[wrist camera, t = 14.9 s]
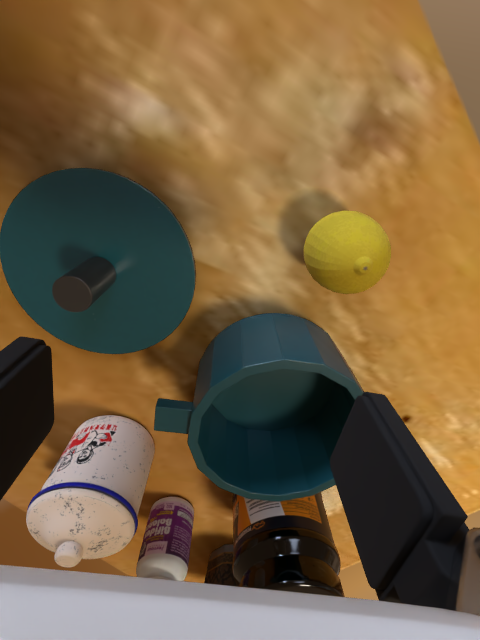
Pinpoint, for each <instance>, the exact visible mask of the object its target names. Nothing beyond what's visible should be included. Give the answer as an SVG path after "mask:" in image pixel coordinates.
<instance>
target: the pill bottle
mask: <svg viewBox="0 0 480 640" xmlns="http://www.w3.org/2000/svg"><path fill="white" fill-rule="evenodd" d="M193 519H194V509H193V507H192V505H191V504H190V503H189V502H188V501H186V500H184V499H182V498H179V497H166V498H162V499H159V500H158V501H156V502H155V503H154V504H153V506H152V508H151V510H150V514H149V518H148V522H147V526H146V530H145V534H144V538H143V542H142V546H141V550H140V555H139V559H138V562H137V568H136V574H137V577H142V578H152V579H163V580H174V581H184V579H185V577H186V575H187V571H188V562H189V554H190V546H191V537H192V529H193Z"/></svg>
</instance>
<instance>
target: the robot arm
mask: <svg viewBox="0 0 480 640" xmlns="http://www.w3.org/2000/svg"><path fill="white" fill-rule="evenodd" d="M53 423H54V400H53V378H52V355H51V348H50V347H49V346H46V344H45V342H44V341H43V340H40V339H34V338H27V337H19V338H17V339H16V340H15V341H13V342H12V343H11V344H9V345H8V346H7V347H6V348H4V349H3V350H2V351H0V500H1V499H2V498H3V496H4V495H5V493H6V492H7V491H8V489H9V488H10V486H11V485H12V484H13V482H14V481H15V479H16V478H17V477H18V475H19V474H20V472H21V471H22V470H23V468H24V467H25V465H26V464H27V463H28V461H29V460H30V458H31V457H32V456H33V454H34V453H35V451H36V450H37V449H38V447H39V446H40V444H41V443H42V442H43V440H44V439H45V437H46V436H47V435H48V433H49V432H50V430H51V428H52V426H53ZM330 467H331V471H332V474H333V477H334V480H335V483H336V486H337V489H338V492H339V495H340V498H341V501H342V504H343V507H344V510H345V513H346V516H347V520H348V523H349V526H350V529H351V532H352V535H353V538H354V541H355V544H356V547H357V550H358V553H359V556H360V559H361V562H362V565H363V568H364V571H365V574H366V577H367V580H368V583H369V585H370V586H371V587H372V588H373V589H375V590H376V593H377V596H378V599H379V601H376V600H367V599H357V598H347V597H338V596H328V595H318V594H308V593H298V592H288V591H278V590H268V589H258V588H247V587H237V586H227V585H216V584H206V583H195V582H185V581H174V580H163V579H152V578H142V577H131V576H120V575H109V574H98V573H86V572H75V571H64V570H52V569H41V568H29V567H18V566H7V565H0V640H480V528H473V529H471V530H469V529H468V527H467V526H466V524H465V523H464V521H465V520H466V519H467V517H468V516H467V515H466V514H465V512H464V511H463V509H462V508H461V506H460V505H459V503H458V502H457V500H456V499H455V497H454V496H453V494H452V493H451V491H450V490H449V489H448V487H447V486H446V484H445V483H444V481H443V480H442V478H441V477H440V475H439V474H438V472H437V471H436V469H435V468H434V467H433V465H432V464H431V462H430V461H429V459H428V458H427V456H426V455H425V453H424V452H423V450H422V449H421V447H420V446H419V444H418V443H417V442H416V440H415V439H414V437H413V436H412V434H411V433H410V431H409V430H408V428H407V427H406V425H405V424H404V422H403V421H402V419H401V418H400V417H399V415H398V414H397V412H396V411H395V409H394V408H393V406H392V405H391V403H390V402H389V400H388V399H387V397H386V396H385V395H382V394H376V393H370V392H364V393H363V394H362V396H358V397H357V398H356V400H355V402H354V404H353V407H352V409H351V411H350V414H349V416H348V418H347V421H346V423H345V425H344V427H343V430H342V432H341V434H340V437H339V439H338V441H337V444H336V446H335V448H334V451H333V453H332V455H331V459H330Z"/></svg>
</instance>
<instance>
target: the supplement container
mask: <svg viewBox="0 0 480 640" xmlns="http://www.w3.org/2000/svg"><path fill="white" fill-rule="evenodd" d="M232 504H233V562H232V572H233V577H234V580H235V582H236V584H237V585H238V586H239V587H247V588H258V589H268V590H278V591H288V592H298V593H308V594H318V595H328V596H338V597H344V593H343V589H342V586H341V582H340V579H339V577H338V575H339V572H340V557H339V553H338V551H337V549H336V547H335V544H334V541H333V537H332V533H331V530H330V526H329V522H328V519H327V515H326V511H325V508H324V504H323V501H322V495H321V492H319V493H317V494H315V495H313V496H309V497H303V498H297V499H291V500H286V501H279V502H278V501H267V500H255V499H248V498H244V497H242V496H239V495H237V494H233V501H232Z"/></svg>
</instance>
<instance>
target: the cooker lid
mask: <svg viewBox="0 0 480 640" xmlns="http://www.w3.org/2000/svg"><path fill="white" fill-rule="evenodd" d="M0 259H1V263H2V268H3V272H4V274H5V277H6V280H7V283H8V285H9V287H10V289H11V291H12V293H13V294H14V296H15V298H16V299H17V301H18V302H19V304H20V305H21V306H22V308H23V309H24V310H25V311H26V313H27V314H28V315H29V316H30V317H31V318H32V319H33V320H34V321H35V322H36V323H37V324H39V325H40V326H41V327H42V328H43V329H45V330H46V331H47V332H49V333H50V334H52V335H53V336H55V337H56V338H58V339H60V340H62V341H64V342H66V343H68V344H70V345H73V346H75V347H78V348H81V349H84V350H88V351H92V352H97V353H105V354H124V353H131V352H136V351H139V350H143V349H146V348H148V347H151V346H153V345H155V344H157V343H158V342H160V341H162V340H163V339H165V338H166V337H167V336H168V335H170V334H171V333H172V332H173V331H174V330H175V329H176V328H177V327H178V326H179V324H180V323H181V321H182V320H183V319H184V317H185V315H186V313H187V311H188V309H189V307H190V304H191V301H192V298H193V294H194V289H195V281H196V270H195V260H194V256H193V252H192V248H191V245H190V243H189V240H188V237H187V235H186V233H185V231H184V229H183V227H182V226H181V224H180V223H179V221H178V220H177V218H176V217H175V215H174V214H173V213H172V212H171V210H170V209H169V208H168V207H167V206H166V205H165V204H164V203H163V202H162V201H161V200H160V199H159V198H158V197H157V196H156V195H155V194H153V193H152V192H151V191H149V190H148V189H146V188H145V187H143V186H142V185H140V184H138V183H137V182H135V181H133V180H131V179H129V178H127V177H124V176H122V175H119V174H116V173H113V172H109V171H105V170H101V169H92V168H70V169H64V170H59V171H55V172H52V173H49V174H46V175H44V176H42V177H40V178H38V179H36V180H35V181H33V182H31V183H30V184H29V185H28V186H26V187H25V188H24V189H23V190H22V191H21V192H20V193H19V194H18V195H17V196H16V197H15V199H14V200H13V202H12V203H11V205H10V206H9V208H8V210H7V212H6V215H5V217H4V220H3V223H2V227H1V232H0Z"/></svg>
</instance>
